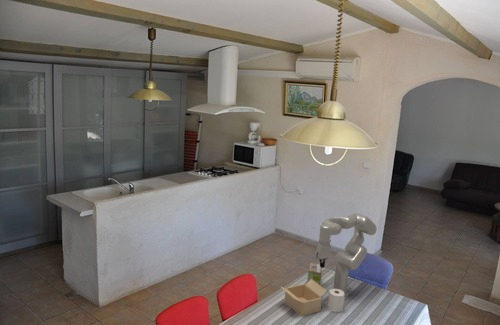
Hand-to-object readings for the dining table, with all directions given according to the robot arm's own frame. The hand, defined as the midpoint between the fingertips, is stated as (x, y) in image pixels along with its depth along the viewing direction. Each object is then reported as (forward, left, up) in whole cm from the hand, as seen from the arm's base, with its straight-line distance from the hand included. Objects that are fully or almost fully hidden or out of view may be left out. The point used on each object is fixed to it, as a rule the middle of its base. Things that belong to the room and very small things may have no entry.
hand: (322, 267), depth 277 cm
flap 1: (+25, 0, -15) cm, 29 cm away
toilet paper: (-6, +11, -27) cm, 30 cm away
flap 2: (+4, 0, -15) cm, 15 cm away
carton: (+14, 0, -27) cm, 30 cm away
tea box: (-12, -21, -27) cm, 36 cm away
